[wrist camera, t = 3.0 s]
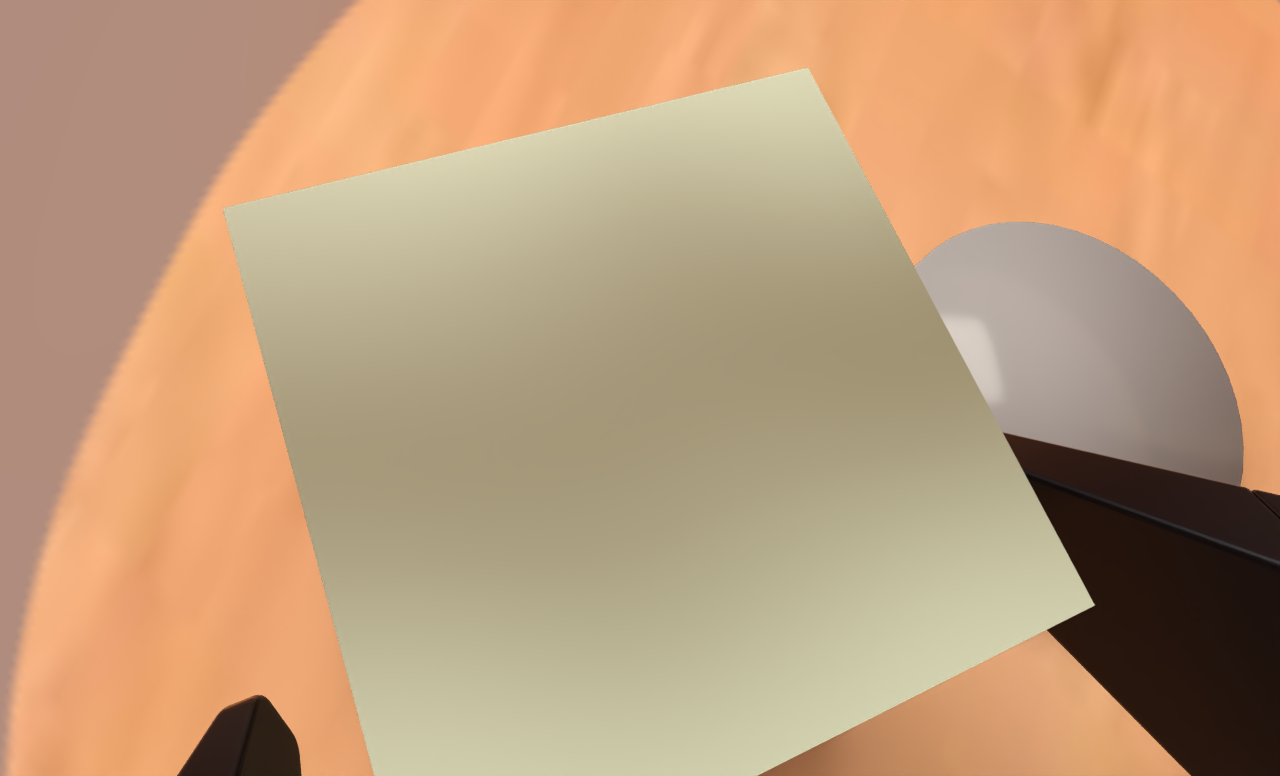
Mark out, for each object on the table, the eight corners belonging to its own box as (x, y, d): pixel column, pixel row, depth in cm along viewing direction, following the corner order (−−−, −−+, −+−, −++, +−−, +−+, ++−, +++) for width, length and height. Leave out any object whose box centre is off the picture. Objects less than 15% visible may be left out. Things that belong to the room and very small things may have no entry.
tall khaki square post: (704, 603, 17) (1094, 605, 5) (513, 685, 16) (420, 944, 4) (632, 423, 18) (807, 67, 6) (450, 487, 17) (222, 207, 5)
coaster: (1236, 620, 19) (1272, 621, 18) (860, 566, 18) (877, 564, 17) (1187, 271, 23) (1215, 256, 22) (869, 210, 22) (884, 191, 21)
